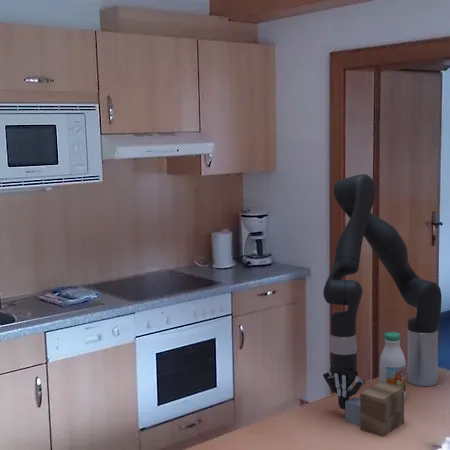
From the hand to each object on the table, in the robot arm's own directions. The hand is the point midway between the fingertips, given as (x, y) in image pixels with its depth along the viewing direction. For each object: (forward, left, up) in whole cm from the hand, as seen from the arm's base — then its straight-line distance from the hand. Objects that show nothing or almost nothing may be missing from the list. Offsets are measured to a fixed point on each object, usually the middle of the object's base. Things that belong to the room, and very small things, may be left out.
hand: (344, 408), depth 194 cm
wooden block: (0, +12, -2) cm, 12 cm away
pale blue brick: (+1, +9, -2) cm, 9 cm away
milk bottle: (-20, +5, -2) cm, 21 cm away
